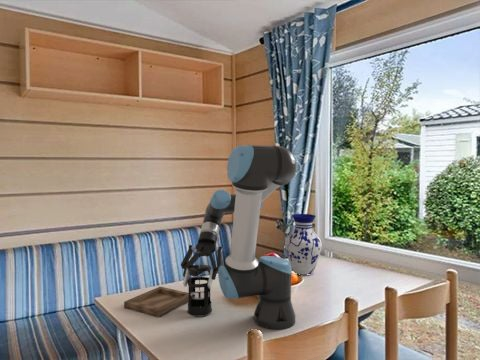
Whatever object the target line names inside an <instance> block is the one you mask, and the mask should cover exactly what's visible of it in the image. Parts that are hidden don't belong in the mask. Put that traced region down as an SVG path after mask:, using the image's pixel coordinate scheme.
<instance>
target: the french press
mask: <svg viewBox="0 0 480 360" xmlns="http://www.w3.org/2000/svg"><path fill="white" fill-rule="evenodd" d="M196 251H197V250H196ZM196 251H194V252H193V255H194V254H198V257H199V258H198V264H193V265H192V266H189V267H188V268H187V269H188V270H189V279H188V283H187V287H188V293H189V302H188V303H187V311H186V312H187V314H189V315H191V316H195V317H197V316H198V317H202V316H207V315H209V314H211V313H212V312H213V307H212V300H211V289H209V287H208V281H209V277H207V276H201V274H202V273H204V272H207V273H208V274H210V271H211V269H212V266H211V265H208V264H200V263H201V262H200V261H201V260H200V258H201V257H200V254H204V253H205V252H202V251H197V252H196ZM196 281H198V283H196ZM201 281H206V282H205V283H201ZM196 288H197V289H198V290H196ZM201 288H203V290H201Z"/></svg>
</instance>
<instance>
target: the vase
mask: <svg viewBox="0 0 480 360" xmlns="http://www.w3.org/2000/svg"><path fill="white" fill-rule="evenodd" d="M292 218H293V220H294V225H295V226H294V229H293V230H292V231H291V233H289V235H287V237H286V238H285V242H284V246H285V247H284V248H285V253H286V257H287V260H288V261H289V262H290V264H291V272H292V271H294V272H295V273H297V274H300V275H299V276H301V275H307V274H312V273H313V272H314V273H315V270H316V266H317V264H318V260H319V259H320V255H321V252H322V248H323V244H322V240H321V238H320V237H319V235H318V234H317V233H316V232H315V231H314V228H313V222H314V220H315V219H316V215H315V214H310V213H294V214H292ZM314 273H313V274H314ZM313 274H312V275H313Z"/></svg>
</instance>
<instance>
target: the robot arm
mask: <svg viewBox="0 0 480 360" xmlns="http://www.w3.org/2000/svg"><path fill="white" fill-rule="evenodd" d="M297 167H298V166H297V160H296V157H295V156H294V154H293V153H292V152H291V151H290V150H289V149H287V148H286V147H284V146H281V145H257V144H256V145H255V144H253V145H252V144H251V145H250V144H246V145H237V146H236V147H234V148H233V149H232V150H231V152H230V154H229V157H228V160H227V167H226V171H227V178H228V180H229V181H230V182H232V183H231V185H232V187H233V188H234V190H235V194H234V193H232V194H231V193H229V192H228V191H227V190H224V189H217V190H216V191H214V193H213V194H212V196H211V198H210V201H209V203H208V204H207V206H206V208H205V212H204V216H203V221H202V225H201V229H200V233H199V236H198V240H197V244H196V245H192V244H189V245H188V250H187V252H186V253H185V255H184V258H183V260H182V261H181V263H180V267H181V268H182V270H183V273H182V276H183V282H182V284H183V286H184V287H185V288H186V287H188V279H189V277H190V275H189V270H188V269H187V268H188V267H189V266H192V265H195V263H196V262H197V261H198V260H199V257H198V254H194V252H197V251H202V252H205V253H204V254H200V258H201V257H209V259H210V264H211V269H210V273H209V277H208V278H209V281H208V287H209V289H210V290H211V289H212V286H213V285H212V284H213V280H216V278H217V275H218V282H219V287H220V289H221V292H222V295H223V296H224V297H225V298H226V299H228V300H234V299H236V300H238V299H242V298H243V299H244V298H249V297H250V298H251V297H258V300H257V304H256V307H255V309H254V312H253V313H254V314H253V320H254V321H253V322H254V323H255V324H256V325H258V326H259V327H262V328H265V329H269V330H270V329H271V330H284V329H288V328H291V327H293V326H294V325H295V324H296V313H295V310H294V306H293V304H292V297H291V296H292V274H293V273H292V269H291V264H290V262H289V260H288V259H285V258H283V257H280V256H279V257H278V256H272V255H261V256H260V257H259V259H257V258H256V251H257V240H258V234H259V233H258V232H259V224H260V223H259V222H260V215H261V214H260V213H261V210H262V208H263V202H264V201H265V200H266V199H267V198H268V197H269V196H270V195H271V194H272V193H274V192H275V191H276V190H277V189H278V188H279V187H280V186H281V187H282V186H285V185H287V184H288V183H289V182H291V180H293V178H295V175H296V173H297ZM226 213H227V214H229V213H233V219H232V220H233V222H232V231H231V232H232V233H231V243H230V253H229V255H227V256H226V258H225V259H224V260H225V261H224V262H225V263H224V264H222V263H223V262H222V261H223V260H222V255H223V251H224V250H223V246H217V243H218V237H219V233H220V229H221V223H222V220H223V217H224V216H225V214H226ZM215 252H216V253H217V266H216V262H215V260H214V257H213V254H214V253H215ZM192 255H193V256H192Z"/></svg>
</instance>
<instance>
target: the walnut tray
mask: <svg viewBox="0 0 480 360" xmlns="http://www.w3.org/2000/svg"><path fill="white" fill-rule="evenodd" d="M188 302H189V292H188V291H187V292H186V291H182V290H178V289H172V288H168V287H163V286H158V287H156V288H153V289H150V290H148V291H146V292H143V293H141V294H139V295H137V296H135V297H132V298H129V299H127V300H125V301H123V308H124V309H127V310H130V311H134V312H138V313H140V314H141V313H142V314H145V315H148V316H153V317H156V318H161V317H163V316H165V315H167V314H169V313H170V312H173V311H174V310H177V309H179V308H180V307H181V306H184V305H186V304H188Z"/></svg>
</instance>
